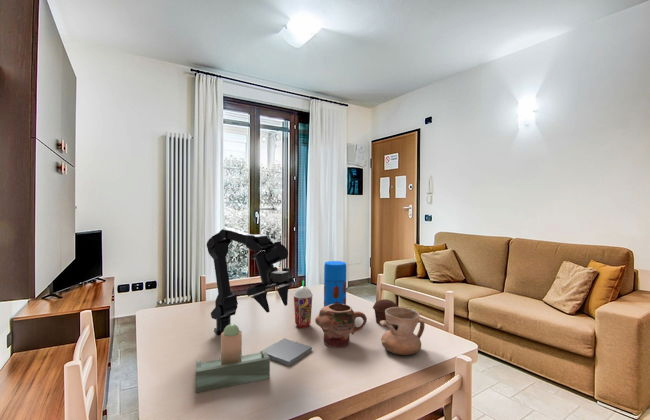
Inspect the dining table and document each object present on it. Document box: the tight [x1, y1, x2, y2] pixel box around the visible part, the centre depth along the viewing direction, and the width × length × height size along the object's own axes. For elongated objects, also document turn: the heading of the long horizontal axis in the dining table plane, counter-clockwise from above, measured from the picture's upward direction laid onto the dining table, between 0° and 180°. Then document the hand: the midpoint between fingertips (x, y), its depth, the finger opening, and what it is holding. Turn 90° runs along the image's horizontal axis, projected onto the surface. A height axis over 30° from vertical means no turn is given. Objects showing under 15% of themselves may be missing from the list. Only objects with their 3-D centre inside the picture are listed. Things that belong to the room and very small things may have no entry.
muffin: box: [372, 298, 399, 327], centre depth 143 cm, size 12×11×10 cm
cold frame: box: [195, 349, 271, 394], centre depth 99 cm, size 13×21×6 cm, turn 112°
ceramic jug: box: [379, 306, 425, 356], centre depth 116 cm, size 18×14×14 cm
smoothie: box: [293, 280, 313, 329], centre depth 139 cm, size 8×8×20 cm
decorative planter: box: [314, 303, 368, 348], centre depth 122 cm, size 20×12×14 cm, turn 97°
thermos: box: [323, 260, 347, 307], centre depth 153 cm, size 11×11×25 cm
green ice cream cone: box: [220, 323, 243, 365], centre depth 101 cm, size 6×6×13 cm
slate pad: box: [259, 337, 313, 367], centre depth 113 cm, size 13×13×2 cm
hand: (277, 308), depth 114 cm, fingers open, 9 cm apart
